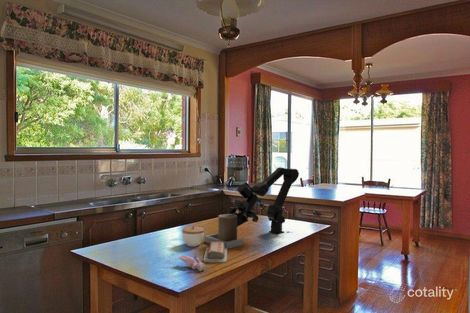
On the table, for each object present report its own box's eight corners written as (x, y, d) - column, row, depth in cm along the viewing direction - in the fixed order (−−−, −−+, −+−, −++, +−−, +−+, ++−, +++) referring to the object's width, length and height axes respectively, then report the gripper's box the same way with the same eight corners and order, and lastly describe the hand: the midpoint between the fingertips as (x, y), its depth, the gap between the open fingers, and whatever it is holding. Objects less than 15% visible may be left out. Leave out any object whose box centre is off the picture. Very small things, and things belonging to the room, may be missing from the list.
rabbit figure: (211, 272, 136) (184, 259, 145) (213, 258, 135) (186, 245, 144) (200, 277, 131) (173, 263, 140) (202, 263, 130) (175, 249, 139)
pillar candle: (238, 244, 170) (238, 214, 170) (218, 245, 169) (219, 215, 169) (235, 239, 180) (236, 211, 180) (217, 239, 179) (217, 211, 179)
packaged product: (206, 240, 162) (227, 240, 162) (206, 250, 162) (227, 250, 162) (203, 251, 144) (226, 252, 144) (203, 263, 144) (226, 263, 144)
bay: (221, 237, 183) (221, 232, 183) (243, 244, 171) (243, 238, 171) (204, 241, 175) (204, 235, 175) (226, 249, 163) (226, 243, 163)
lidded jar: (194, 240, 177) (195, 222, 177) (208, 244, 170) (208, 226, 169) (177, 244, 170) (177, 225, 170) (190, 249, 162) (191, 229, 162)
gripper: (230, 192, 188) (214, 214, 181) (255, 196, 174) (239, 221, 167) (240, 205, 193) (225, 227, 186) (265, 209, 180) (250, 234, 173)
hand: (234, 227), depth 178 cm, fingers closed
